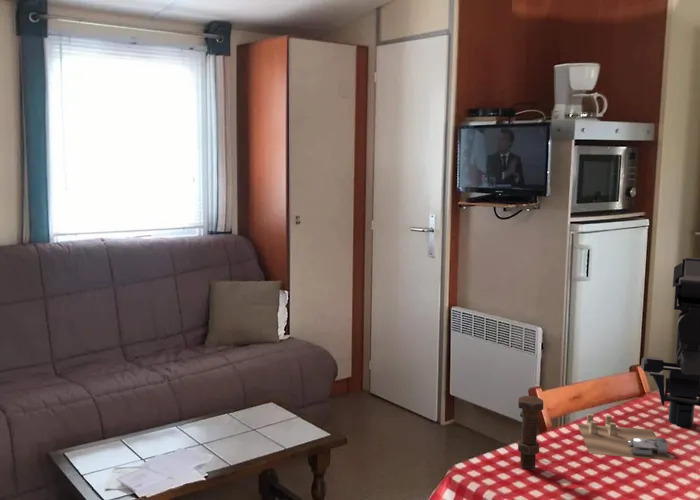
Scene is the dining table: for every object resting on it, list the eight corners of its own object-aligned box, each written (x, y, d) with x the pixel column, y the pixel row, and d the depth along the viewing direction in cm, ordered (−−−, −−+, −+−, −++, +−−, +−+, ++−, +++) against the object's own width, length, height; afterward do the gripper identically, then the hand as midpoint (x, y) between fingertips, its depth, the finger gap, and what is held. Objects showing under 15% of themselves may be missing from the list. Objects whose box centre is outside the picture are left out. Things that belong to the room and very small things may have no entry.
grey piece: (663, 450, 159) (664, 438, 159) (666, 455, 156) (667, 443, 156) (626, 447, 160) (627, 435, 160) (629, 452, 158) (629, 440, 157)
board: (577, 427, 174) (577, 423, 174) (651, 432, 171) (651, 429, 171) (589, 456, 157) (589, 453, 157) (672, 463, 154) (672, 460, 154)
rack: (586, 424, 174) (587, 413, 174) (610, 426, 173) (611, 415, 173) (590, 433, 168) (591, 422, 168) (615, 435, 167) (616, 424, 167)
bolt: (540, 473, 148) (544, 405, 146) (515, 471, 149) (519, 403, 147) (538, 462, 154) (542, 396, 152) (515, 459, 155) (518, 394, 153)
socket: (627, 444, 162) (627, 440, 162) (645, 446, 161) (646, 442, 161) (632, 454, 156) (633, 450, 156) (651, 456, 156) (652, 452, 155)
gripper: (649, 336, 149) (643, 409, 149) (747, 345, 143) (741, 421, 143) (643, 331, 159) (638, 399, 160) (734, 340, 154) (729, 410, 154)
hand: (685, 407), depth 154 cm, fingers open, 9 cm apart
